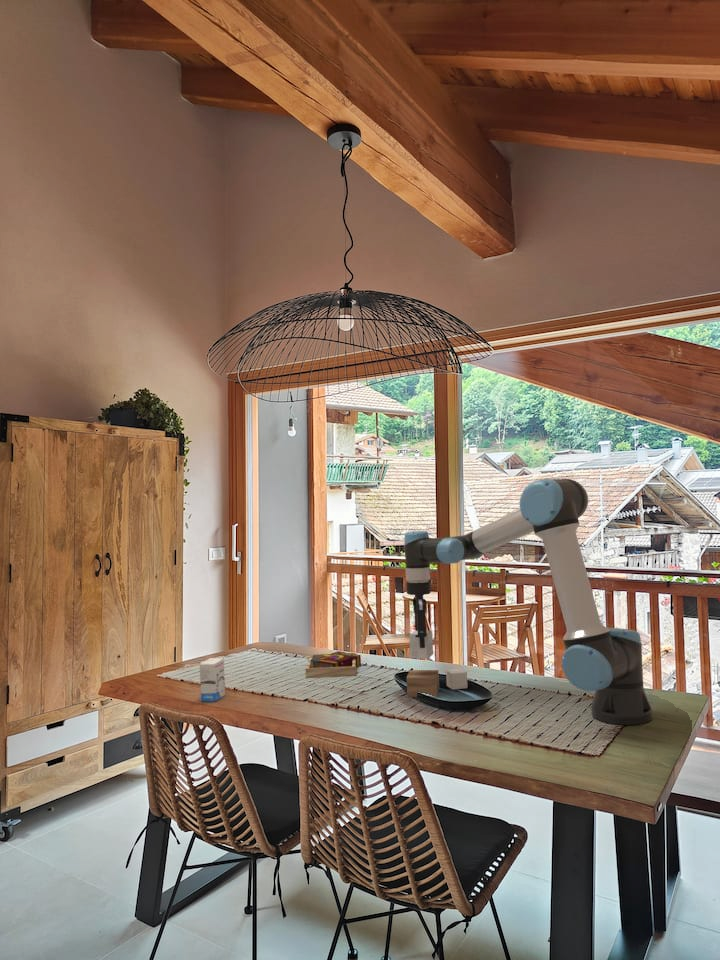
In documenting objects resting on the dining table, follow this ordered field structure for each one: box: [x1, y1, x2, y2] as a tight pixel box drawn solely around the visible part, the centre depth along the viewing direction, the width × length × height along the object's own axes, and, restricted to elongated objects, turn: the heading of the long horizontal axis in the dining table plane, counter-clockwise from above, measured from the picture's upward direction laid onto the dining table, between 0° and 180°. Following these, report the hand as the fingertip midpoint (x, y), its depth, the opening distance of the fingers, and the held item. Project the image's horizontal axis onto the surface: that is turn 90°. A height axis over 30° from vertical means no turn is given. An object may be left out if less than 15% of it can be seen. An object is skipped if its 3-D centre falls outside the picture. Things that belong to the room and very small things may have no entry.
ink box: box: [199, 657, 226, 703], centre depth 218 cm, size 9×5×12 cm, turn 168°
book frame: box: [305, 652, 357, 679], centre depth 249 cm, size 22×17×3 cm
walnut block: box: [406, 669, 440, 698], centre depth 214 cm, size 9×9×6 cm
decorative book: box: [311, 650, 362, 668], centre depth 249 cm, size 11×16×5 cm
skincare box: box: [408, 630, 434, 659], centre depth 214 cm, size 6×6×7 cm
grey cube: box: [445, 668, 468, 691], centre depth 219 cm, size 5×5×5 cm
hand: (421, 655), depth 214 cm, fingers closed on skincare box, 7 cm apart
